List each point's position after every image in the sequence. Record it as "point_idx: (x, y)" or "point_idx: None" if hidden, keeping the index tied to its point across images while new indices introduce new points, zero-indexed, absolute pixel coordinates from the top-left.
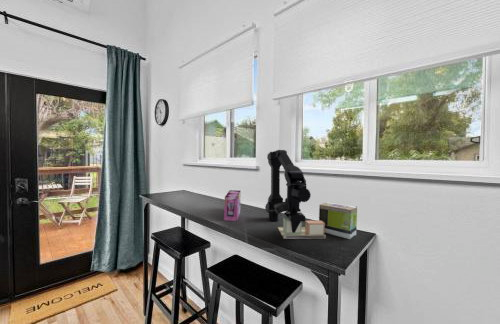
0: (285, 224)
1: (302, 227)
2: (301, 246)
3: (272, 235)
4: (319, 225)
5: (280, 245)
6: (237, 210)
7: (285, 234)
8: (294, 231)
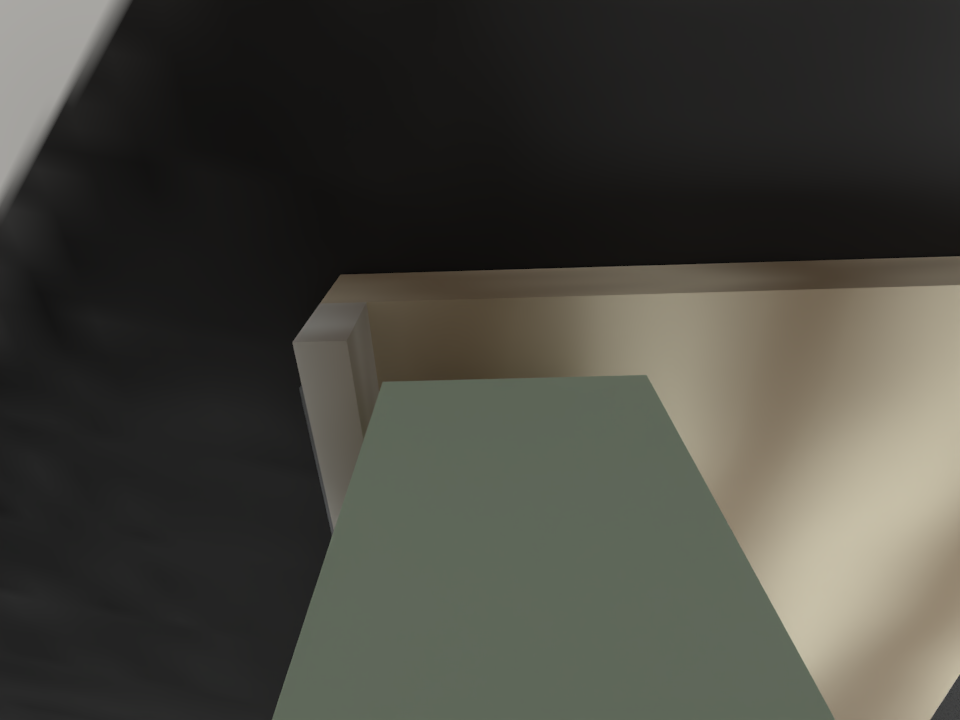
0: (290, 682)
1: (905, 713)
2: (204, 525)
3: (778, 34)
4: None
5: (130, 163)
6: None
7: None
8: None
